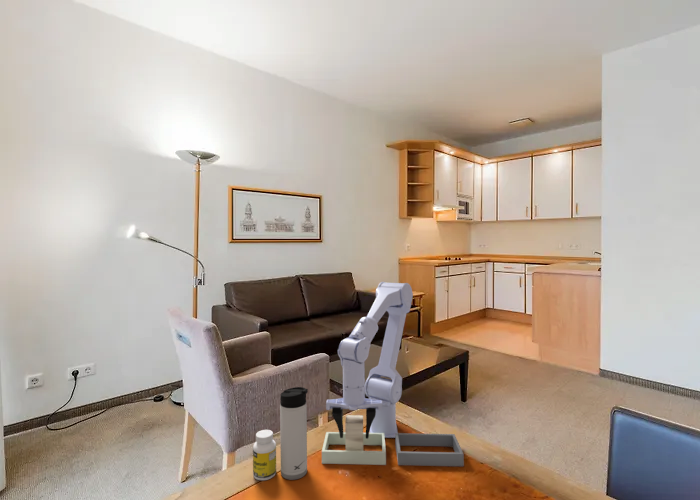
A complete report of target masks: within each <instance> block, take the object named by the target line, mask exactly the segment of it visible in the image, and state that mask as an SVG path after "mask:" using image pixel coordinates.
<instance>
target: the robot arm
mask: <svg viewBox="0 0 700 500" xmlns="http://www.w3.org/2000/svg"><path fill="white" fill-rule="evenodd" d="M413 295H414V293H413V289H412V286H411V284H410V283H408V282H404V283H403V282H402V283H401V282H386V281H380V282H379V283H378V285H377V287H376V289H375V299H374V302H373V303H372V305H371V307H370V309H369V312H367V315H366V316H363V317H361V318H360V319H359V321H358V322H357V323H356V325H355V327H354V328H353V330H352V331H351V333H350V334H349V336H348V337H346V338H344V339H342V340H341V341H340V343H339V345H338V349H337V355H338V357H339V360H340V365H341V367H342V397H339V398H333V399H332V398H331V399H326V402H325V410H326V411H327V410H328V411H331V410H332V412H331V415H332V418H333V420H334V422H335V424H336V426H337V429H338V432H339V434H340V438H343V432H344V422H343V419H344V418H343V416H344V414H343V412H344V411H343V410H349V411H357V410H365V418H366V419H365V421H366V422H365V424H366V425H365V433H366V438H368V437H369V433H384V436H385V438H386V439H387V438H388V439H390V438H391V439H392V438H393V439H394V438H395V433H399V432H398V427H397V420H396V419H397V417H396V413H397V412H396V411H397V410H396V405H397V403H398V402H399V400H401V397H402V394H403V393H402V392H403V388H402V385H403V377H402V376H401V374H400V373H399V371H397V369H396V367H397V362H398V358H399V357H398V356H399V352H400V347H401V344H402V343H401V341H402V337H403V334H404V333H403V332H404V327H405V322H406V318H407V314H408V313H410V312H411V307H412V302H413V297H414V296H413ZM386 312H387V313H388V319H387V324H386V328H385V332H384V337H383V342H382V346H381V351H380V355H379V356H380V357H379V361H378V364H377V365H376V366H374V367H372V368H371V369H370V370H369V373H368V377H367V378H366V377H365V374H366V373H365V370H366V369H365V362H366V360H367V359H368V358H369V354H370V348H371V342H372V341H373V339H374V338H375V335H376V333H378V330H379V326H378V323H379V322H380V321H381V318H382V317H383V316H384V315H385V313H386ZM365 378H366V380H365ZM366 397H368V398H366Z"/></svg>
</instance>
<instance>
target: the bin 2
mask: <svg viewBox="0 0 700 500" xmlns="http://www.w3.org/2000/svg"><path fill="white" fill-rule="evenodd" d="M401 446H404V447H405V446H406V447H407V446H408V447H410V446H412V447H452V448H453V451H454V452H453V451H451V452H450V451H449V452H446V451H443V452H442V451H403V450H402V451H401ZM395 453H396V459H397V466H424V467H425V466H426V467H427V466H429V467H430V466H431V467H464V466H465V461H464V459H465V457H464V452H463V450H462V447H461V445H460V443H459V440H458V438H457V436H456V435H455V433H417V432H415V433H412V432H411V433H409V432H408V433H404V432H398V433H395Z"/></svg>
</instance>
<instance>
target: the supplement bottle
mask: <svg viewBox="0 0 700 500" xmlns="http://www.w3.org/2000/svg"><path fill="white" fill-rule="evenodd" d="M276 474H277V442H276V441H275V440H274V432H273V431H272V430H270V429H262V430H259V431H257V432H256V433H255V442H254V443H253V446H252V476H253V478H254V479H256V480H257V481H268V480H270V479H272V478H274V477H275V475H276Z"/></svg>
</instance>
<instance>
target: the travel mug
mask: <svg viewBox="0 0 700 500" xmlns="http://www.w3.org/2000/svg"><path fill="white" fill-rule="evenodd" d="M308 391H309V390H308V388H305V387H303V386H295V387H289V388H287V389H285V390H283V391H282V392H280V396H279V397H280V403H279V406H280V407H279V413H280V414H279V416H280V417H279V418H280V425H279V426H280V429H279V431H280V432H279V433H280V435H279V436H280V439H279V440H280V476H281V477H282V478H283V479H285V480H290V481H294V480H299V479H302V478H303V477H305V476H306V474H307V472H308V436H307V435H308V427H307V424H308V423H307V421H308V419H307V418H308V417H307V408H308V407H307V394H308Z"/></svg>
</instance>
